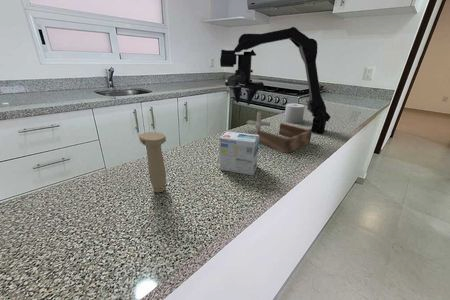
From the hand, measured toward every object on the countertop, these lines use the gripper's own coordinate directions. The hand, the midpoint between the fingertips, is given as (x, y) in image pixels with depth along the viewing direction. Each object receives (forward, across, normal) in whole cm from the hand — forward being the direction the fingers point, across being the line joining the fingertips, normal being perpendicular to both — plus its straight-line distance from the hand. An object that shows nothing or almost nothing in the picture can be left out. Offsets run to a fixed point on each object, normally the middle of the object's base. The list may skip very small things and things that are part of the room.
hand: (242, 103), depth 97 cm
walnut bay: (+12, +23, 0) cm, 26 cm away
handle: (+12, +22, -53) cm, 59 cm away
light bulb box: (+12, +27, -29) cm, 41 cm away
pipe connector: (+12, +10, 0) cm, 16 cm away
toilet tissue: (+12, +8, +32) cm, 35 cm away
